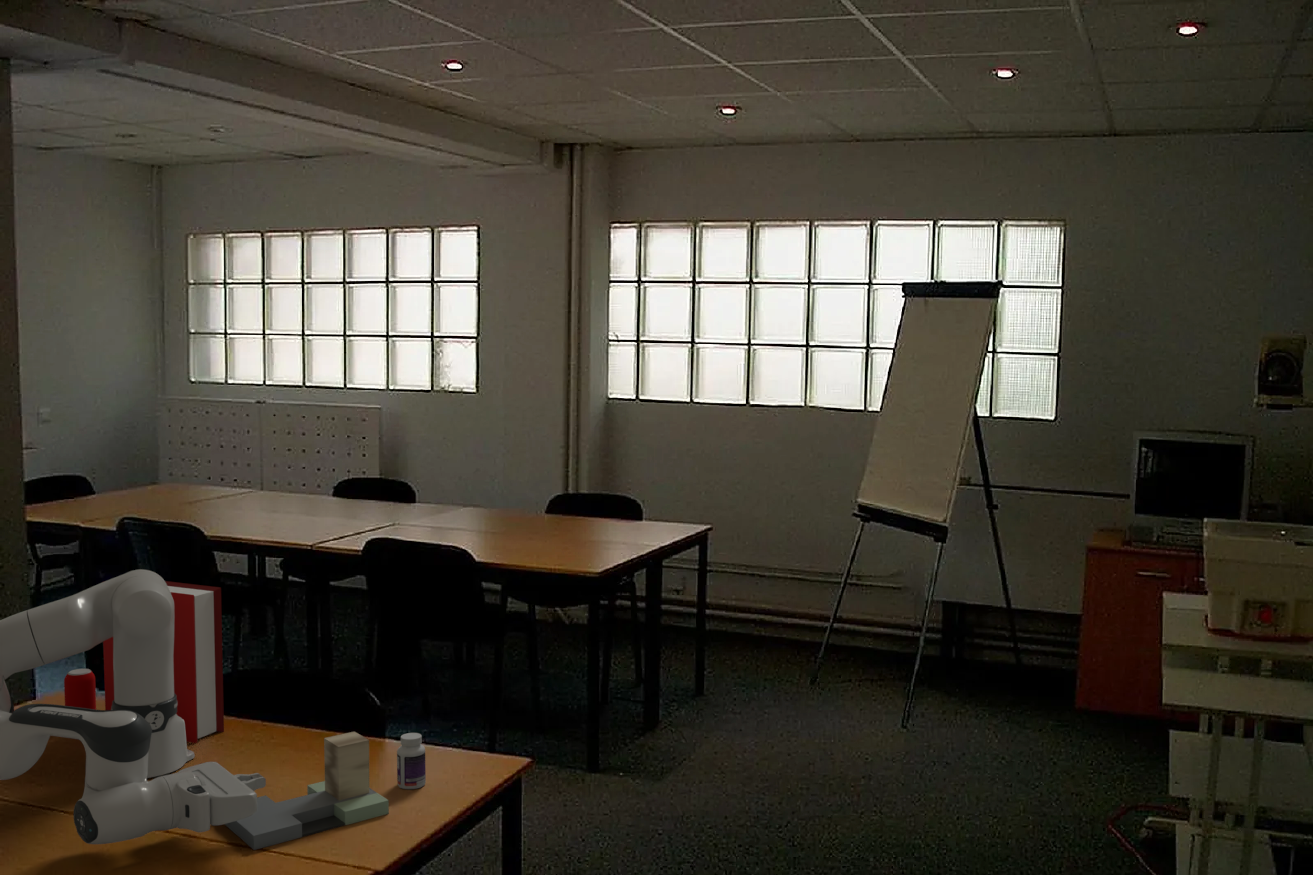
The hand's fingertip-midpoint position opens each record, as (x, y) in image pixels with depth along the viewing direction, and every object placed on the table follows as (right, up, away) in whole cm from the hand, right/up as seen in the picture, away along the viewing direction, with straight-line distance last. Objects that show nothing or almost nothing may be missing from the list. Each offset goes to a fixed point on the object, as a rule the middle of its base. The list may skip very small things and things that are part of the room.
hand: (262, 779), depth 211 cm
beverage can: (-58, -4, +55) cm, 80 cm away
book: (-39, -4, +53) cm, 66 cm away
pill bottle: (+22, -7, +22) cm, 32 cm away
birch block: (+12, -5, +11) cm, 17 cm away
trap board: (+6, -8, +6) cm, 12 cm away
